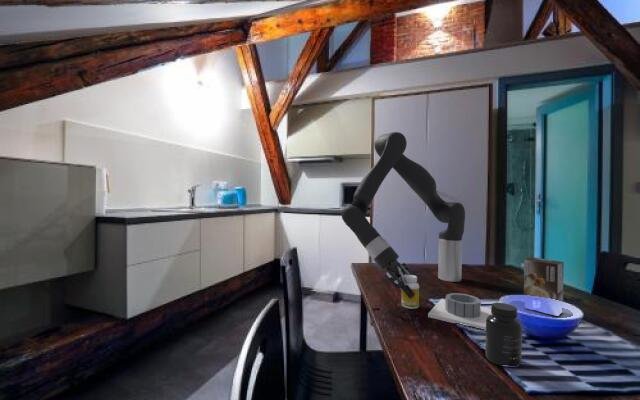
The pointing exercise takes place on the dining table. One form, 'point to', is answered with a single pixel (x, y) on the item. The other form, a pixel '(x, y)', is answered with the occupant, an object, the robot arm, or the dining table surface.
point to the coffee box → (543, 278)
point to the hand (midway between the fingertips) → (415, 294)
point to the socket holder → (461, 310)
